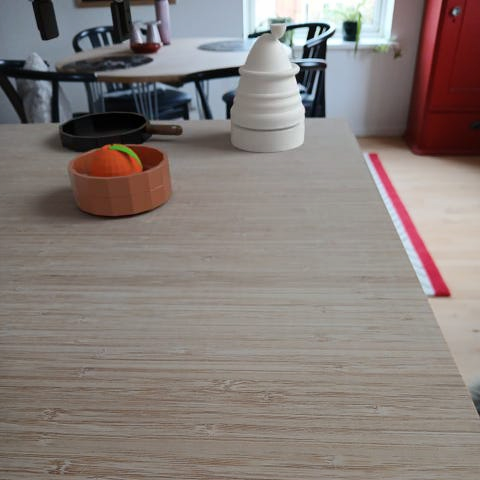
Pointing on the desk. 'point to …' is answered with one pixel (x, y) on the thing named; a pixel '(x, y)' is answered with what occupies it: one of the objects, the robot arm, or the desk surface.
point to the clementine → (115, 162)
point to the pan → (111, 130)
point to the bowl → (122, 184)
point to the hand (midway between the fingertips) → (86, 39)
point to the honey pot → (268, 99)
